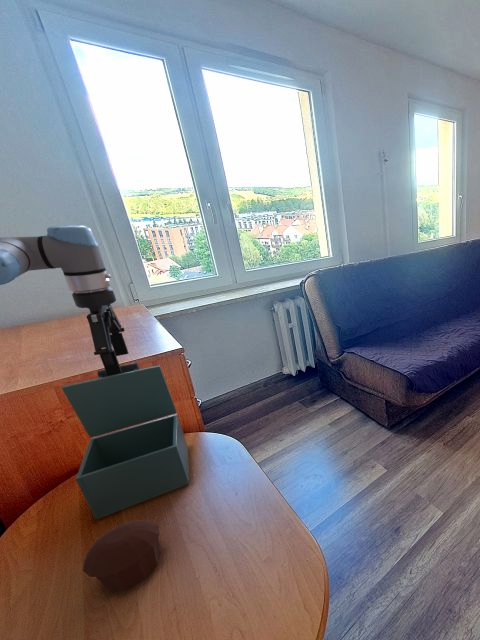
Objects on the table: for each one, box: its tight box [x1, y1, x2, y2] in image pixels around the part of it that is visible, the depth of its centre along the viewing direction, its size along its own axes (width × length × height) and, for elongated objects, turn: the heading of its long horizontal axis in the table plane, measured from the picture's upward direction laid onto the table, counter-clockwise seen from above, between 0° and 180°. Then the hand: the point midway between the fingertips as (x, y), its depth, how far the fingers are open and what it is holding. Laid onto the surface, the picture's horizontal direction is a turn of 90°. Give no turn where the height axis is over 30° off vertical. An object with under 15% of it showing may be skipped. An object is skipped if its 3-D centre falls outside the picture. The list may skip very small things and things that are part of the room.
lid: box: [61, 362, 178, 439], centre depth 90 cm, size 17×19×8 cm
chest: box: [75, 413, 190, 520], centre depth 88 cm, size 16×19×13 cm
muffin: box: [82, 520, 161, 593], centre depth 67 cm, size 12×11×10 cm
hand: (119, 364), depth 91 cm, fingers open, 13 cm apart
